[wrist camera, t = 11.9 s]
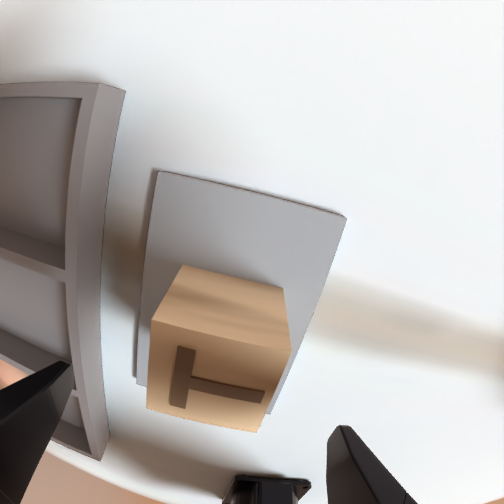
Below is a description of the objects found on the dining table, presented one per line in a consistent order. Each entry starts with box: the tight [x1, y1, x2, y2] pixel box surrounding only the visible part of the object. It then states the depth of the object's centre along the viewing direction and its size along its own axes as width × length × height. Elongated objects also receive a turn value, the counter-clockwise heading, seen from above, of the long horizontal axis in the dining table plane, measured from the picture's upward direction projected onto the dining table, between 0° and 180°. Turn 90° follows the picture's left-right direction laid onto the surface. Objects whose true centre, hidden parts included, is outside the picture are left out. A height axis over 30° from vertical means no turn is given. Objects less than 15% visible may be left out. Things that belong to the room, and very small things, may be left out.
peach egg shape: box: [0, 359, 29, 389], centre depth 16 cm, size 5×5×1 cm
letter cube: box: [146, 265, 292, 433], centre depth 12 cm, size 4×4×5 cm
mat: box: [136, 171, 347, 414], centre depth 15 cm, size 12×8×1 cm, turn 166°
